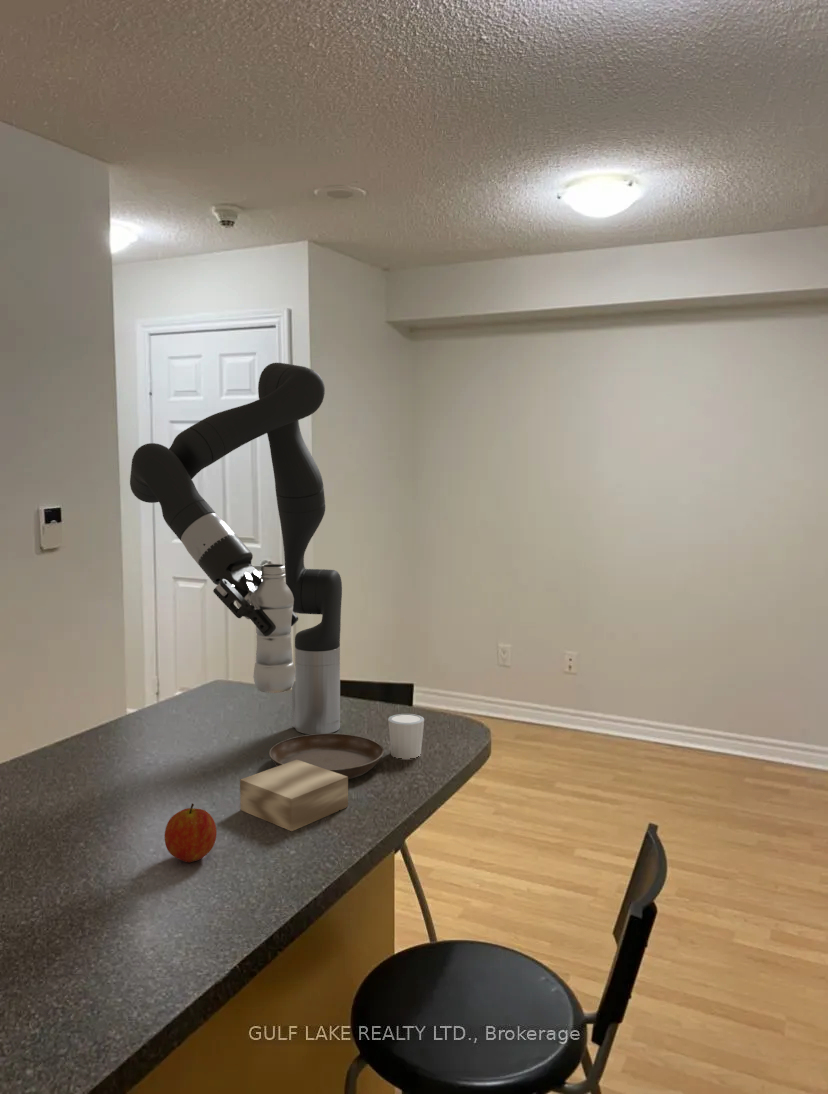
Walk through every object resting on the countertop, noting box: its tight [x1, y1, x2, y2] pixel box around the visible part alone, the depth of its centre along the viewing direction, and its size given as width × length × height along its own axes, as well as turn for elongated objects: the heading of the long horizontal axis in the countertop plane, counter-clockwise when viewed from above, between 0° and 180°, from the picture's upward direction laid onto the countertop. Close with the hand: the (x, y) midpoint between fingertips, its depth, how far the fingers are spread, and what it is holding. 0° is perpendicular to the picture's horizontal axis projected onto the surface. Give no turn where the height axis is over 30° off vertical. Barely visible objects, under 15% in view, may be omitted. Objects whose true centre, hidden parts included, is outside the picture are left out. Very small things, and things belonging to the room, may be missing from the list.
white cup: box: [387, 713, 425, 760], centre depth 160 cm, size 7×7×7 cm
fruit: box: [164, 803, 218, 864], centre depth 117 cm, size 7×7×8 cm
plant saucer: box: [268, 733, 385, 780], centre depth 154 cm, size 21×21×3 cm
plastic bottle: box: [253, 563, 295, 694], centre depth 131 cm, size 6×7×20 cm
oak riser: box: [239, 760, 349, 832], centre depth 134 cm, size 12×12×5 cm
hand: (282, 627), depth 131 cm, fingers closed on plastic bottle, 6 cm apart
